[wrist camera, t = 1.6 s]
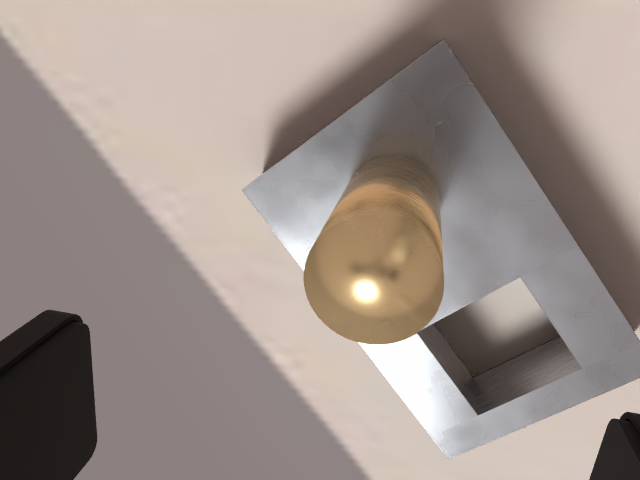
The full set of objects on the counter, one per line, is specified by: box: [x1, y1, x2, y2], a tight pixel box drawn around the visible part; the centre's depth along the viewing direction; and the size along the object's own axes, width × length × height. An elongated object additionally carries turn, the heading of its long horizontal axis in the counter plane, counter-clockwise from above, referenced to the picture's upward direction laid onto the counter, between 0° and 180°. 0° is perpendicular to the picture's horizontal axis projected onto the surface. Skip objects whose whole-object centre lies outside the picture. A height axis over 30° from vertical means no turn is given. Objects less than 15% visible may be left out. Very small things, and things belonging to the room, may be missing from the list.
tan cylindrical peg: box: [304, 155, 444, 345], centre depth 18 cm, size 4×4×8 cm
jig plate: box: [242, 39, 640, 460], centre depth 24 cm, size 16×10×3 cm, turn 37°
